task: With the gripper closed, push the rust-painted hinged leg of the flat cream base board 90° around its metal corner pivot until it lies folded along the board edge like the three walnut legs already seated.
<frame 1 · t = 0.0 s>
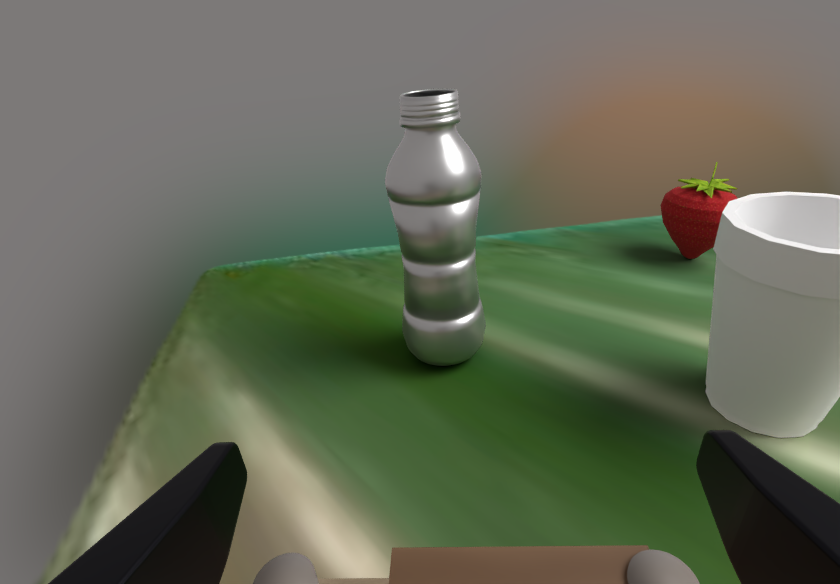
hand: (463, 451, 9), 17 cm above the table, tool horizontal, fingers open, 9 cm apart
foam cup: (758, 404, 32), on the table
strawberry: (688, 259, 51), on the table
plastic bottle: (445, 353, 40), on the table
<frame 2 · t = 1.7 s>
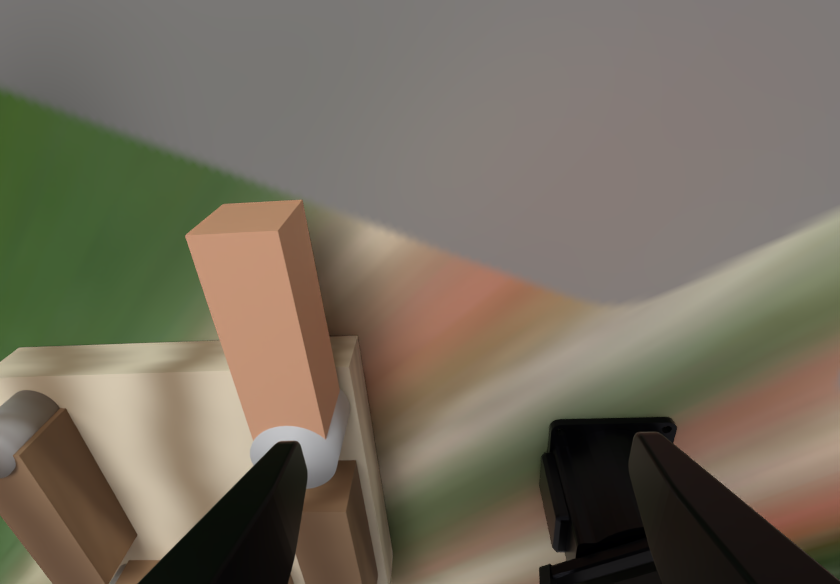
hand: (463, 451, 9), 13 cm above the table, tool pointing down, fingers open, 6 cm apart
hinged leg: (284, 356, 19), point 4 cm above the table, hinge at 0.0°
flat cream base board: (230, 464, 29), on the table
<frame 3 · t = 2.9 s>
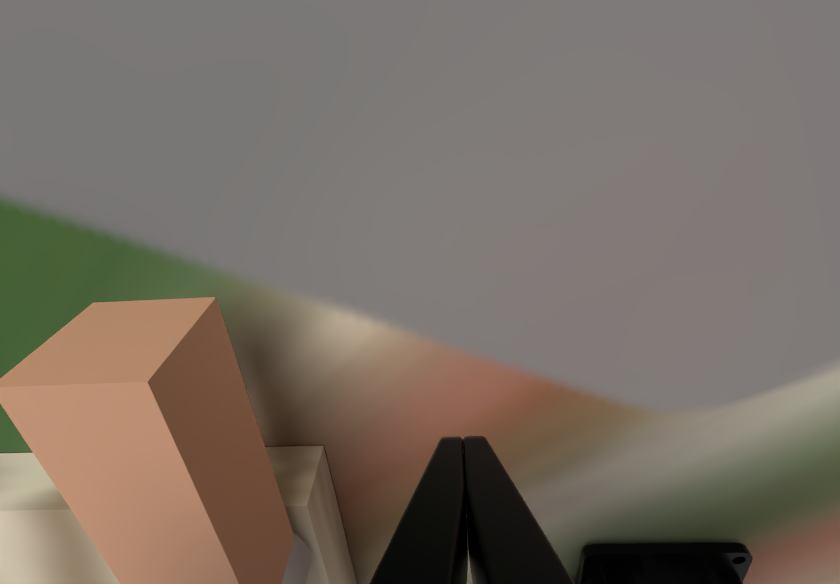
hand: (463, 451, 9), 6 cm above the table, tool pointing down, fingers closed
hinged leg: (201, 518, 13), point 4 cm above the table, hinge at 0.0°
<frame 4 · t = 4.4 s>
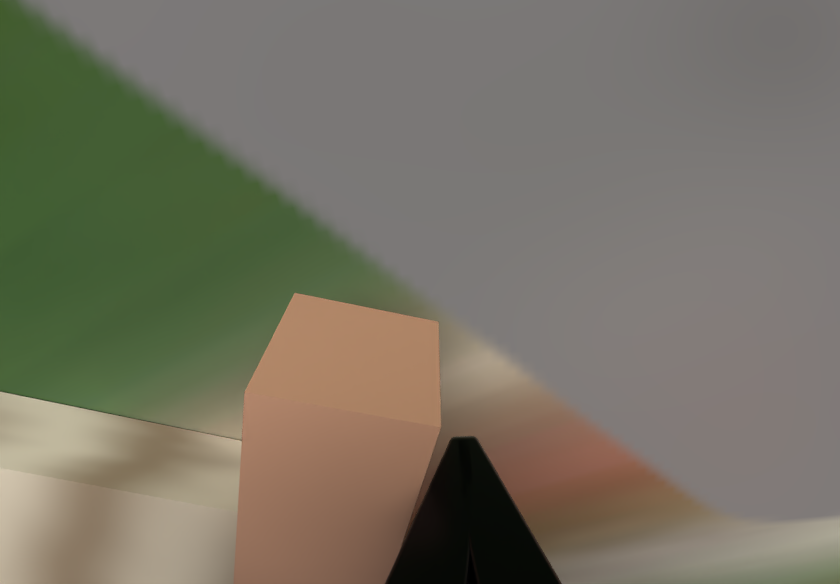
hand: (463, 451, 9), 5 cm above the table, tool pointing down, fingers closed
hinged leg: (318, 547, 11), point 4 cm above the table, hinge at 2.7°, touching gripper
flat cream base board: (132, 574, 20), on the table
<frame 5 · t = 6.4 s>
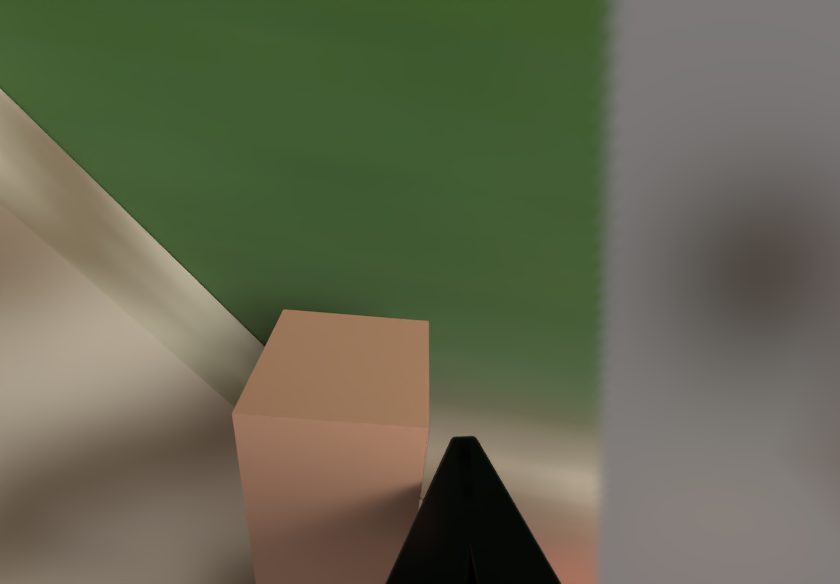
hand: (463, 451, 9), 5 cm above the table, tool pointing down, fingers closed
hinged leg: (342, 555, 12), point 4 cm above the table, hinge at 50.7°, touching gripper
flat cream base board: (75, 466, 17), on the table
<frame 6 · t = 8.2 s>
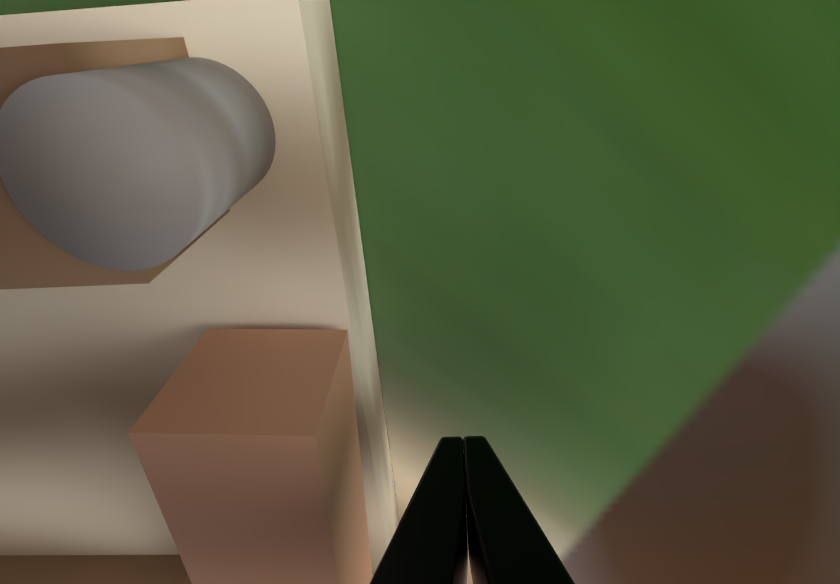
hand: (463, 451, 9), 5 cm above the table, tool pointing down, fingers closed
hinged leg: (296, 564, 12), point 4 cm above the table, hinge at 87.0°
flat cream base board: (84, 366, 15), on the table
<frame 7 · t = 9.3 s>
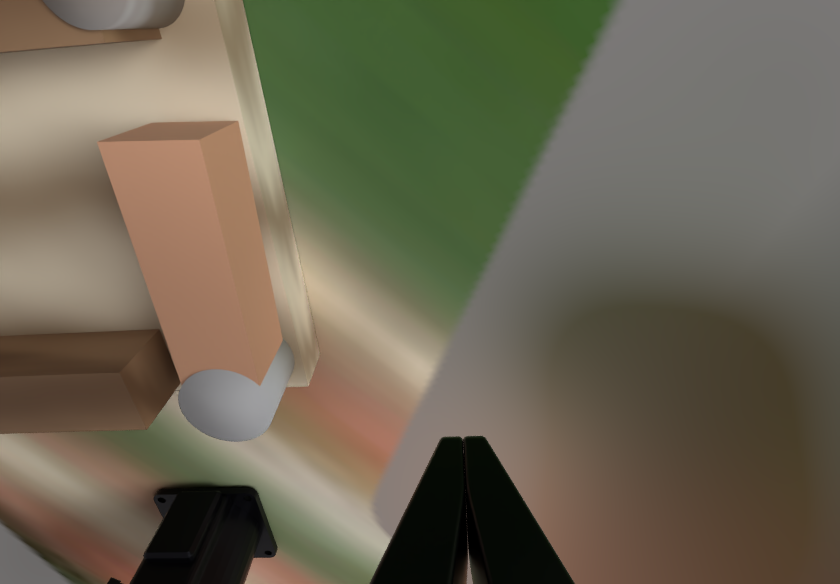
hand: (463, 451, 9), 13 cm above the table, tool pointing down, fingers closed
hinged leg: (217, 294, 18), point 4 cm above the table, hinge at 87.2°
flat cream base board: (79, 194, 21), on the table
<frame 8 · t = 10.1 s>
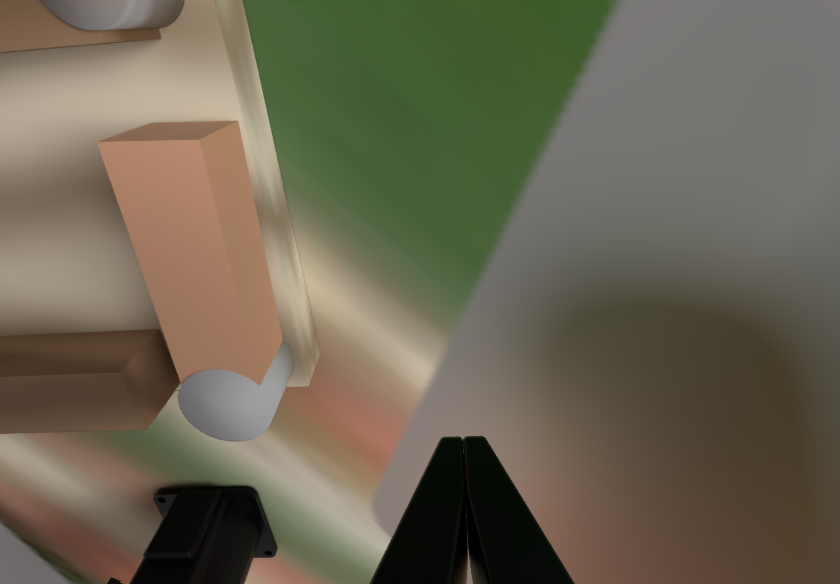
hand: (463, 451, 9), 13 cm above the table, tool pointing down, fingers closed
hinged leg: (217, 294, 18), point 4 cm above the table, hinge at 87.2°
flat cream base board: (79, 194, 21), on the table
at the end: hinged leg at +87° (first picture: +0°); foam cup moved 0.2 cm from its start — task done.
